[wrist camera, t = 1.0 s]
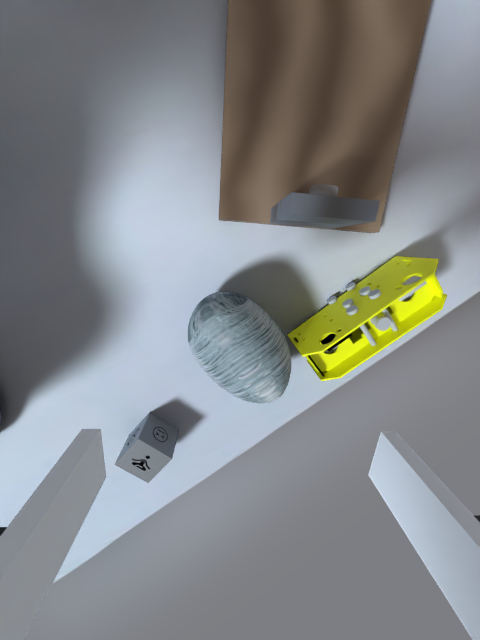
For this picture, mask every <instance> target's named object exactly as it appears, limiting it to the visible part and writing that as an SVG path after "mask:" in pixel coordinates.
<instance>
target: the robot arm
mask: <svg viewBox="0 0 480 640" xmlns="http://www.w3.org/2000/svg"><path fill="white" fill-rule="evenodd" d="M0 422H1V409H0ZM369 477H370V478H371V480H372V482H373V483H374V484H375V486H376V488H377V489H378V491H379V492H380V494H381V496H382V497H383V499H384V500H385V502H386V504H387V505H388V507H389V508H390V510H391V512H392V513H393V515H394V516H395V518H396V519H397V521H398V523H399V524H400V526H401V527H402V529H403V531H404V532H405V534H406V535H407V537H408V538H409V540H410V542H411V543H412V545H413V546H414V548H415V549H416V551H417V552H418V554H419V556H420V557H421V559H422V561H423V562H424V563H425V565H426V567H427V568H428V570H429V571H430V573H431V575H432V576H433V578H434V579H435V581H436V582H437V584H438V586H439V587H440V589H441V590H442V592H443V593H444V595H445V597H446V598H447V600H448V601H449V603H450V605H451V606H452V608H453V609H454V611H455V613H456V614H457V616H458V617H459V619H460V621H461V622H462V624H463V625H464V627H465V628H466V630H467V632H468V633H469V635H470V636H471V638H472V639H473V640H480V516H473V515H472V513H470V511H469V510H468V509H467V508H466V507H465V506H464V505H463V504H462V503H461V502H460V501H459V500H458V498H457V497H456V496H455V495H454V494H453V493H452V492H451V491H450V490H449V489H448V488H447V487H446V485H445V484H444V483H443V482H442V481H441V480H440V479H439V478H438V477H437V476H436V475H435V474H434V473H433V471H432V470H431V469H430V468H429V467H428V466H427V465H426V464H425V463H424V462H423V461H422V460H421V459H420V457H419V456H418V455H417V454H416V453H415V452H414V451H413V450H412V449H411V448H410V447H409V446H408V445H407V443H406V442H405V441H404V440H403V439H402V438H401V437H400V436H399V435H398V434H397V433H396V432H381V434H380V437H379V441H378V444H377V447H376V451H375V454H374V458H373V461H372V465H371V468H370V471H369ZM105 478H106V471H105V463H104V454H103V446H102V437H101V429H82V430H81V431H80V433H79V434H78V435H77V437H76V438H75V439H74V441H73V442H72V443H71V444H70V446H69V447H68V448H67V450H66V451H65V452H64V454H63V455H62V456H61V458H60V459H59V460H58V462H57V463H56V464H55V465H54V467H53V468H52V469H51V471H50V472H49V473H48V475H47V476H46V477H45V479H44V480H43V481H42V482H41V484H40V485H39V486H38V488H37V489H36V490H35V492H34V493H33V494H32V496H31V497H30V498H29V499H28V501H27V502H26V503H25V505H24V506H23V507H22V509H21V510H20V511H19V513H18V514H17V515H16V516H15V518H14V519H13V520H12V522H11V523H10V524H9V526H8V527H0V640H24V639H25V637H26V635H27V633H28V631H29V629H30V627H31V625H32V623H33V621H34V619H35V617H36V615H37V613H38V611H39V609H40V607H41V605H42V603H43V601H44V599H45V597H46V595H47V593H48V591H49V589H50V587H51V585H52V583H53V581H54V579H55V577H56V575H57V573H58V571H59V569H60V567H61V566H62V564H63V562H64V560H65V558H66V556H67V554H68V552H69V550H70V548H71V546H72V544H73V542H74V540H75V538H76V536H77V534H78V532H79V530H80V528H81V526H82V524H83V522H84V520H85V518H86V516H87V514H88V512H89V510H90V508H91V506H92V504H93V502H94V500H95V498H96V496H97V494H98V492H99V490H100V488H101V486H102V484H103V482H104V480H105Z"/></svg>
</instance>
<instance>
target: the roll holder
mask: <svg viewBox="0 0 480 640" xmlns="http://www.w3.org/2000/svg"><path fill="white" fill-rule="evenodd" d="M430 3H431V0H228V18H227V41H226V64H225V87H224V111H223V134H222V157H221V180H220V203H219V220H223V221H235V222H247V223H259V224H271V225H283V226H295V227H307V228H319V229H330V230H342V231H354V232H366V233H376V232H379V230H380V226H381V221H382V217H383V212H384V208H385V204H386V199H387V195H388V190H389V186H390V181H391V177H392V172H393V168H394V163H395V159H396V155H397V150H398V146H399V141H400V137H401V132H402V128H403V123H404V119H405V115H406V110H407V106H408V101H409V97H410V92H411V88H412V83H413V79H414V74H415V70H416V66H417V61H418V57H419V52H420V48H421V43H422V39H423V34H424V30H425V26H426V21H427V17H428V12H429V8H430Z"/></svg>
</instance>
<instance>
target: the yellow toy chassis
mask: <svg viewBox="0 0 480 640" xmlns="http://www.w3.org/2000/svg"><path fill="white" fill-rule="evenodd" d="M438 262H439V260H438V259H434V258H418V257H402V256H395V257H394V258H392V259H391V260H390V261H388V262H387V263H385V264H384V265H383V266H381V267H380V268H378V269H377V270H376V271H374V272H373V273H372V274H370V275H369V276H367V277H366V278H365V279H363V280H362V281H361V282H359V283H358V284H355V283H354V282H352V283H349V284H348V285H346V287H345V288H346V289H347V292H345V293H344V294H343V295H341V296H340V297H339V298H336V296H332V297H330V298H329V299H328V300H327V302H328V304H329V305H328V306H326V307H325V308H323V309H322V310H321V311H319V312H318V313H317V314H315V315H314V316H312V317H311V318H310V319H308V320H307V321H306V322H304V323H303V324H301V325H300V326H299V327H297V328H296V329H294V330H293V331H292V332H290V333H289V334H288V337H289V338H290V340H291V341H292V342H293V344H294V345H295V347H296V348H297V349H298V351H299V352H300V354H301V355H302V356H305V357H306V358H307V359H308V360H307V362H308V363H309V364H310V366H311V367H312V368H313V370H314V371H315V373H316V374H317V375H318V377H319V378H320V379H321V381H325V380H331V379H337V378H341V377H343V376H344V375H346V374H347V373H349V372H350V371H351V370H353V369H354V368H356V367H357V366H359V365H360V364H362V363H363V362H365V361H366V360H368V359H369V358H371V357H372V356H374V355H375V354H377V353H378V352H380V351H381V350H383V349H384V348H386V347H387V346H389V345H390V344H392V343H393V342H394V341H396V340H397V339H399V338H400V337H402V336H403V335H405V334H406V333H408V332H409V331H411V330H412V329H414V328H415V327H417V326H418V325H420V324H421V323H423V322H424V321H426V320H427V319H429V318H430V317H432V316H433V315H435V314H436V313H437V312H439V311H440V310H442V308H443V305H444V303H445V300H446V297H447V295H446V294H443V290H442V288H441V286H440V284H439V282H438V280H437V278H436V276H435V272H436V268H437V265H438Z"/></svg>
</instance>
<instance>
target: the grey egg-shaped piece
mask: <svg viewBox="0 0 480 640" xmlns="http://www.w3.org/2000/svg"><path fill="white" fill-rule="evenodd" d="M188 341H189V346H190V348H191V351H192V353H193V355H194V357H195V359H196V360H197V362H198V363H199V364H200V366H201V367H202V368H203V370H204V371H205V372H206V373H207V374H208V376H209V377H210V378H211V379H212V380H213V381H214V382H215V383H217V384H218V385H219V386H220V387H221V388H223V389H224V390H226V391H227V392H228V393H230V394H232V395H233V396H235V397H237V398H240V399H242V400H245V401H249V402H253V403H268V402H273V401H275V400H277V399H278V398H280V396H281V395H282V394H283V393H284V391H285V389H286V387H287V385H288V382H289V378H290V373H291V355H290V350H289V346H288V343H287V341H286V338H285V336H284V334H283V332H282V330H281V328H280V327H279V325H278V324H277V323H276V322H275V320H274V319H273V318H272V317H271V316H270V315H269V314H268V313H267V312H266V311H265V310H264V309H263V308H262V307H261V306H259V305H258V304H257V303H255V302H254V301H252V300H251V299H249V298H247V297H245V296H242V295H240V294H236V293H230V292H216V293H213V294H211V295H209V296H207V297H205V298H204V299H203V300H202V301H200V303H199V304H198V305H197V306H196V308H195V310H194V311H193V313H192V316H191V318H190V322H189V327H188Z"/></svg>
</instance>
